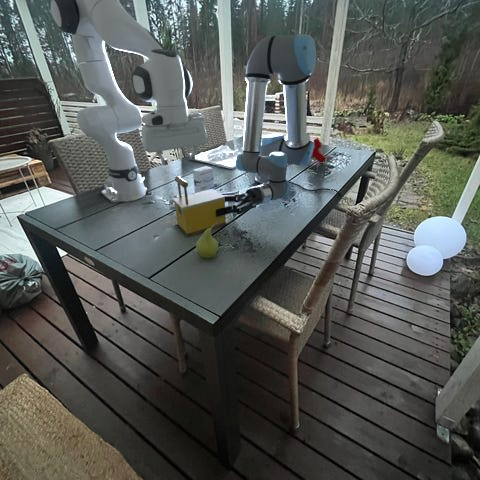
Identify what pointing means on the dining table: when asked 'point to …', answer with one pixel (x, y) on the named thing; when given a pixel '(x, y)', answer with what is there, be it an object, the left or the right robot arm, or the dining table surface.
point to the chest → (200, 218)
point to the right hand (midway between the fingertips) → (210, 208)
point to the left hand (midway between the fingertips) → (179, 162)
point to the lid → (194, 196)
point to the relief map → (220, 157)
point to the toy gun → (316, 152)
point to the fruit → (207, 244)
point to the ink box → (203, 179)
